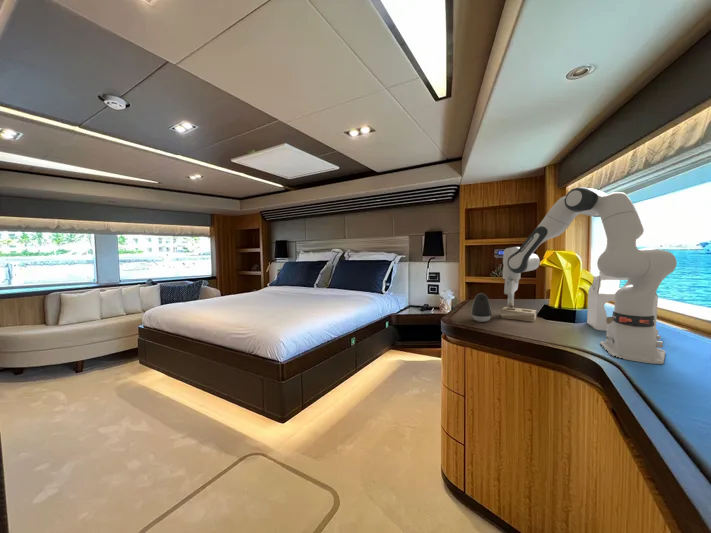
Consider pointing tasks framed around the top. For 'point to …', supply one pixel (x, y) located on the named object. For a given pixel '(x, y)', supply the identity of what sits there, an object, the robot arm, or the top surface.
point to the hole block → (518, 314)
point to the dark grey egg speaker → (481, 308)
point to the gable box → (599, 298)
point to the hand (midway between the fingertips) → (510, 300)
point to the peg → (511, 302)
